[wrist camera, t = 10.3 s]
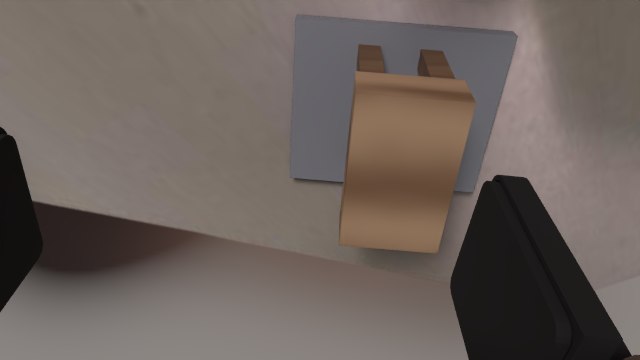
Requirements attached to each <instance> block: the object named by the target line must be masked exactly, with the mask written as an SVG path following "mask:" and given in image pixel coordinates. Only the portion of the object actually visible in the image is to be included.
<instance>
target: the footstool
mask: <svg viewBox="0 0 640 360" xmlns="http://www.w3.org/2000/svg"><path fill="white" fill-rule="evenodd" d="M356 66H357V71H355V78H354V88H353V97H352V106H351V116H350V125H349V134H348V143H347V153H346V162H345V171H344V180H343V190H342V199H341V208H340V223H339V245H340V246H352V247H364V248H376V249H388V250H401V251H413V252H425V253H437V252H438V248H439V245H440V241H441V237H442V233H443V229H444V225H445V221H446V218H447V214H448V210H449V206H450V202H451V198H452V194H453V191H454V187H455V183H456V179H457V175H458V171H459V167H460V164H461V160H462V156H463V152H464V148H465V144H466V140H467V137H468V133H469V129H470V125H471V121H472V117H473V113H474V109H475V106H476V102H475V100H474V98H473V96H472V94H471V92H470V90H469V88H468V86H467V84H466V82H465V80H461V79H455V77H454V75H453V72H452V70H451V68H450V66H449V64H448V62H447V59H446V57H445V55H444V53H443V51H439V50H426V49H421V51H420V56H419V62H418V68H417V71H418V74H419V76H411V75H398V74H385V72H384V66H383V59H382V53H381V46H376V45H363V44H359V46H358V56H357V65H356Z"/></svg>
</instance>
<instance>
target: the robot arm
mask: <svg viewBox="0 0 640 360" xmlns="http://www.w3.org/2000/svg"><path fill="white" fill-rule="evenodd" d="M42 247H43V241H42V236H41V233H40V229H39V225H38V221H37V218H36V214H35V211H34V207H33V203H32V199H31V196H30V192H29V188H28V185H27V181H26V177H25V173H24V170H23V166H22V162H21V159H20V155H19V151H18V148H17V144H16V141H15V139H14V138H13V137H12V136H10V135H7V133H6V131H5V130H4V129H3V128H1V127H0V312H1V310H2V309H3V308H4V306H5V305H6V303H7V302H8V301H9V299H10V298H11V296H12V295H13V294H14V292H15V291H16V289H17V288H18V287H19V285H20V284H21V282H22V281H23V280H24V278H25V277H26V275H27V274H28V273H29V271H30V270H31V268H32V267H33V266H34V264H35V263H36V261H37V260H38V258H39V257H40V255H41V252H42ZM450 286H451V287H450V288H451V295H452V299H453V302H454V306H455V310H456V313H457V317H458V321H459V325H460V328H461V332H462V336H463V339H464V343H465V347H466V351H467V354H468V358H469V360H640V355H633V356H632V355H631V354H630V352H629V350H628V349H627V347H626V345H625V343H624V342H623V339H622V337H621V335H620V333H619V332H618V330H617V328H616V327H615V325H614V323H613V322H612V320H611V318H610V317H609V315H608V313H607V312H606V310H605V308H604V307H603V305H602V303H601V302H600V300H599V298H598V297H597V295H596V293H595V291H594V290H593V288H592V286H591V285H590V283H589V281H588V280H587V278H586V276H585V275H584V273H583V271H582V269H581V268H580V266H579V264H578V263H577V261H576V259H575V258H574V256H573V254H572V253H571V251H570V249H569V248H568V246H567V244H566V243H565V241H564V239H563V237H562V236H561V234H560V232H559V231H558V229H557V227H556V226H555V224H554V222H553V221H552V219H551V217H550V216H549V214H548V212H547V211H546V209H545V207H544V205H543V204H542V202H541V200H540V199H539V197H538V195H537V194H536V192H535V190H534V189H533V187H532V185H531V184H530V182H529V180H528V179H527V178H524V177H515V176H505V175H496V176H495V177H494V178H493V180H492V181H486V182H485V183H484V184H483V186H482V188H481V191H480V194H479V197H478V200H477V203H476V206H475V209H474V212H473V215H472V218H471V221H470V224H469V227H468V229H467V232H466V235H465V238H464V241H463V244H462V247H461V250H460V253H459V256H458V259H457V262H456V265H455V268H454V270H453V273H452V277H451V285H450Z"/></svg>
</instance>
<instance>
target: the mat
mask: <svg viewBox="0 0 640 360" xmlns="http://www.w3.org/2000/svg"><path fill="white" fill-rule="evenodd" d="M517 37H518V36H517V35H516V34H515V33H514V32H511V31H498V30H486V29H473V28H460V27H448V26H435V25H422V24H410V23H397V22H384V21H372V20H359V19H347V18H334V17H321V16H309V15H296V19H295V43H294V71H293V99H292V126H291V154H290V178H300V179H312V180H325V181H337V182H343V180H344V171H345V162H346V153H347V143H348V134H349V125H350V116H351V106H352V97H353V88H354V78H355V71H357V66H356V65H357V56H358V46H359V44H363V45H376V46H381V53H382V59H383V66H384V72H385V74H398V75H411V76H419V74H418V71H417V68H418V62H419V56H420V51H421V49H426V50H439V51H443V53H444V55H445V57H446V59H447V62H448V64H449V66H450V68H451V70H452V72H453V75H454V77H455V79H461V80H465V82H466V84H467V86H468V88H469V90H470V92H471V94H472V96H473V98H474V100H475V102H476V106H475V109H474V113H473V117H472V121H471V125H470V129H469V133H468V137H467V140H466V144H465V148H464V152H463V156H462V160H461V164H460V167H459V171H458V175H457V179H456V183H455V187H454V191H460V192H472V193H473V191H474V187H475V184H476V180H477V177H478V173H479V170H480V166H481V163H482V159H483V156H484V152H485V149H486V145H487V142H488V138H489V135H490V132H491V128H492V125H493V121H494V118H495V114H496V111H497V107H498V104H499V100H500V97H501V93H502V90H503V86H504V83H505V79H506V76H507V72H508V69H509V65H510V62H511V58H512V55H513V51H514V48H515V44H516V41H517Z"/></svg>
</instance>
